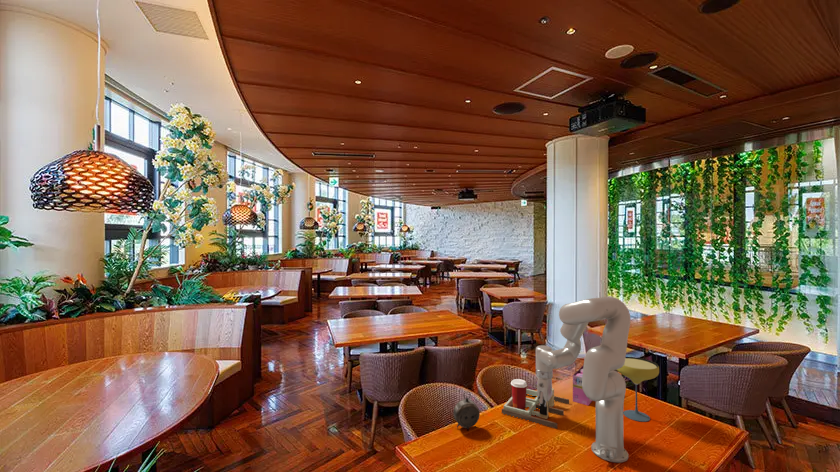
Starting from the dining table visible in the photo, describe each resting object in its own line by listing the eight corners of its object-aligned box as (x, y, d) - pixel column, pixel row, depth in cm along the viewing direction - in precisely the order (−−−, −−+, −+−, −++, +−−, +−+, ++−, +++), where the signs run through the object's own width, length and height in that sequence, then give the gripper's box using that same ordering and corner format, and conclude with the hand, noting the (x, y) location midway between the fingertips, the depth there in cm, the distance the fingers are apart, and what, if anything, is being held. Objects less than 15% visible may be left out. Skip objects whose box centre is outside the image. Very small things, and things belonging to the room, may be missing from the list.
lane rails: (556, 428, 154) (556, 424, 154) (501, 413, 168) (501, 409, 168) (569, 403, 178) (569, 399, 179) (520, 392, 192) (520, 388, 192)
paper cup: (529, 409, 172) (529, 380, 172) (524, 416, 165) (524, 386, 166) (513, 405, 176) (513, 377, 176) (508, 411, 170) (508, 382, 170)
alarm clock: (476, 424, 158) (476, 387, 158) (481, 430, 153) (481, 392, 153) (453, 427, 155) (453, 390, 156) (456, 433, 150) (456, 395, 150)
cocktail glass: (666, 428, 154) (665, 371, 155) (620, 422, 160) (619, 367, 160) (651, 409, 172) (651, 358, 172) (610, 405, 177) (610, 354, 177)
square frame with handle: (550, 410, 170) (550, 393, 171) (512, 400, 181) (512, 385, 181) (556, 401, 180) (556, 385, 181) (519, 392, 191) (519, 377, 191)
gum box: (585, 386, 199) (585, 362, 200) (600, 390, 194) (600, 365, 194) (572, 401, 181) (572, 374, 181) (588, 406, 176) (588, 378, 176)
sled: (544, 423, 158) (544, 405, 159) (503, 412, 169) (503, 395, 169) (550, 412, 168) (550, 395, 169) (511, 402, 179) (511, 386, 179)
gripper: (548, 380, 156) (548, 422, 155) (556, 369, 169) (556, 408, 169) (531, 377, 160) (531, 418, 159) (540, 366, 174) (540, 404, 173)
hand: (544, 412), depth 164 cm, fingers closed on sled, 3 cm apart
